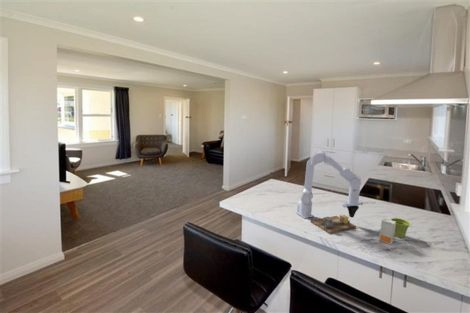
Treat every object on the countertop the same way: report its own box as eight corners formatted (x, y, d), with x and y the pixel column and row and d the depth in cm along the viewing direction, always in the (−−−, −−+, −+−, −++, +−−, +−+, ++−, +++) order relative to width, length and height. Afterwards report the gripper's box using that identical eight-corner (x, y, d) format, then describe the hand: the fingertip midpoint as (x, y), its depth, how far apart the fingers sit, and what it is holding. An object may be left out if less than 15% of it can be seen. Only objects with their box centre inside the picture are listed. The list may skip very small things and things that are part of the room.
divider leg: (337, 221, 161) (338, 214, 160) (341, 220, 162) (341, 213, 161) (344, 224, 156) (344, 217, 155) (347, 224, 157) (348, 217, 156)
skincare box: (378, 240, 141) (381, 220, 139) (381, 238, 144) (383, 217, 142) (391, 244, 137) (394, 223, 135) (393, 242, 140) (396, 221, 138)
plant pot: (407, 234, 149) (409, 220, 148) (408, 241, 141) (410, 226, 140) (388, 230, 154) (390, 216, 152) (388, 236, 146) (390, 222, 144)
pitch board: (310, 222, 162) (311, 212, 161) (336, 217, 170) (337, 207, 169) (329, 233, 148) (330, 222, 146) (356, 227, 156) (357, 217, 155)
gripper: (350, 199, 151) (347, 221, 153) (368, 196, 157) (365, 217, 159) (341, 195, 157) (338, 216, 160) (358, 193, 163) (355, 213, 166)
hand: (351, 216), depth 160 cm, fingers closed
